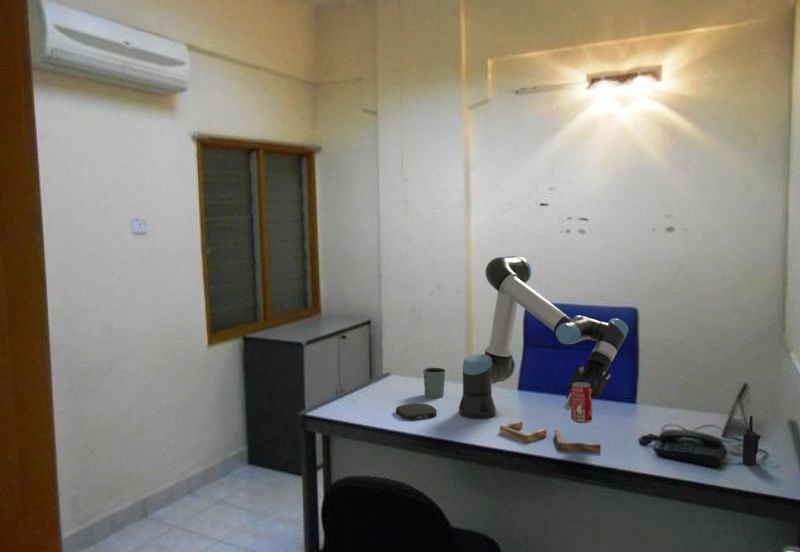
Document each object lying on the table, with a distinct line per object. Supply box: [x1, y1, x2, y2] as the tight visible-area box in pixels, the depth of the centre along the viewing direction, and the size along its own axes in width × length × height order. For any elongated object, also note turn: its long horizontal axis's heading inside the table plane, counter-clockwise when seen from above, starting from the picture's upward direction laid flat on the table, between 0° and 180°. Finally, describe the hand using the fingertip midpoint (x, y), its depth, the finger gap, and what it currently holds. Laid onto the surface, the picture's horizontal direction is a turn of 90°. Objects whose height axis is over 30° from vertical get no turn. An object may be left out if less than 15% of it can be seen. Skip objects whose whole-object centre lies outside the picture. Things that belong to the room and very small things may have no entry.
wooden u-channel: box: [499, 420, 547, 444], centre depth 221 cm, size 11×13×2 cm
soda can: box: [570, 382, 593, 425], centre depth 209 cm, size 7×7×13 cm
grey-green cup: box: [422, 367, 447, 399], centre depth 274 cm, size 10×10×12 cm
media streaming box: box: [395, 402, 438, 421], centre depth 247 cm, size 15×15×3 cm
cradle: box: [554, 429, 602, 453], centre depth 208 cm, size 10×20×2 cm, turn 36°
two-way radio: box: [742, 415, 762, 465], centre depth 192 cm, size 6×4×15 cm
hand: (572, 410), depth 208 cm, fingers closed on soda can, 5 cm apart
